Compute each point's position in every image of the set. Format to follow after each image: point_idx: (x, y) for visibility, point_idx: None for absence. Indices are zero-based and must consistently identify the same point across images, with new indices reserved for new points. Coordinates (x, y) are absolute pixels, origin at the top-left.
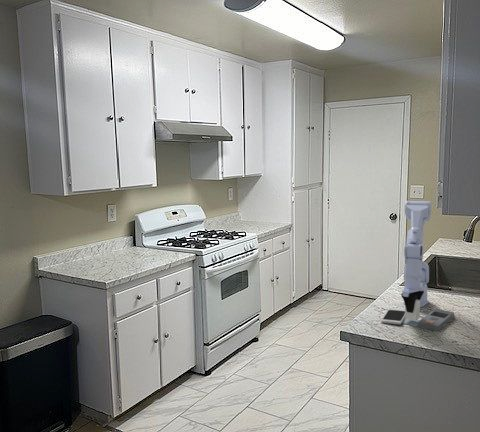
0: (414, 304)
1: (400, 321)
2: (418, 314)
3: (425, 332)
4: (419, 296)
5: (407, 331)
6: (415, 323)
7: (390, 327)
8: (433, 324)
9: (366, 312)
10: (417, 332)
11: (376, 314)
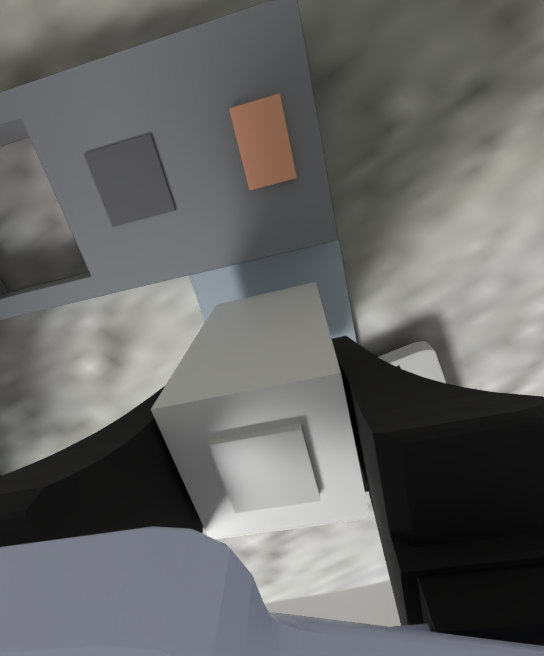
0: (349, 373)
1: (409, 361)
2: (239, 311)
3: (411, 97)
4: (123, 465)
5: (503, 226)
6: (296, 284)
7: (506, 362)
8: (291, 71)
9: (353, 580)
10: (465, 150)
11: (337, 537)
